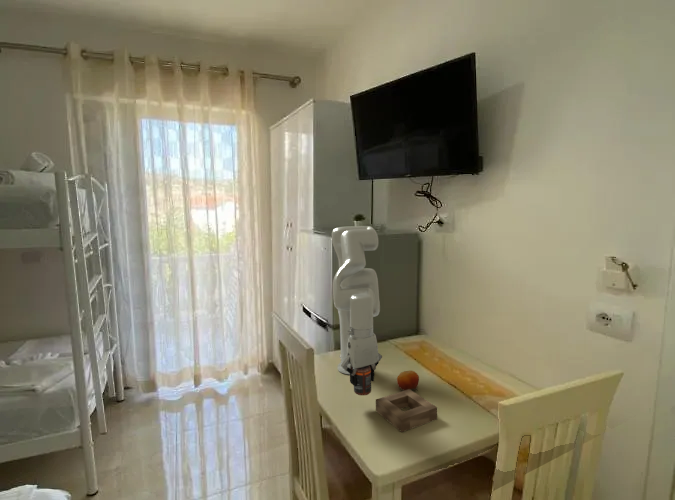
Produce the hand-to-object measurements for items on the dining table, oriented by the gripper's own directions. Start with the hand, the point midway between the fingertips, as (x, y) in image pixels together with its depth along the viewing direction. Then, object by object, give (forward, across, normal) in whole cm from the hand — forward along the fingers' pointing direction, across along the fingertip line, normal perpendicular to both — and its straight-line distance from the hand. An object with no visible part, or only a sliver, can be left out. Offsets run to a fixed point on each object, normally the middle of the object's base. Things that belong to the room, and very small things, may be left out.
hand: (362, 381), depth 127 cm
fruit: (+10, +21, +2) cm, 24 cm away
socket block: (+9, +9, -12) cm, 17 cm away
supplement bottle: (+4, 0, 0) cm, 4 cm away
